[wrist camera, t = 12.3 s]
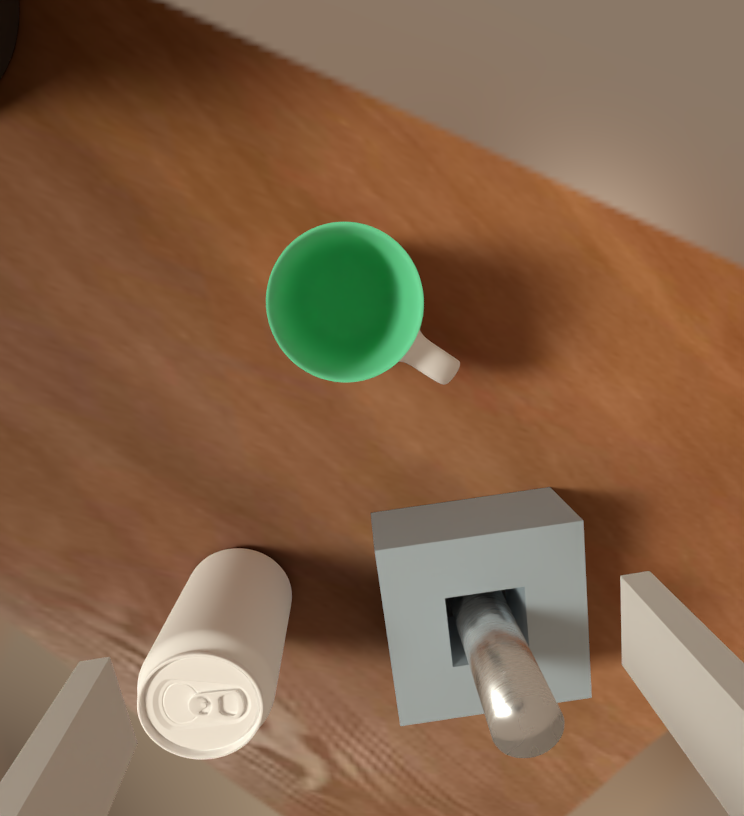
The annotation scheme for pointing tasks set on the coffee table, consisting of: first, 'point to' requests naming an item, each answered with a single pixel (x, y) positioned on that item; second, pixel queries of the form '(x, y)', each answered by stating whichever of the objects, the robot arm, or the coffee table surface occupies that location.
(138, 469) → the coffee table surface
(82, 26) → the coffee table surface
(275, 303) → the mug
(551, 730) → the peg
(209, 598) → the beverage can
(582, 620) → the socket block
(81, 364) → the coffee table surface
